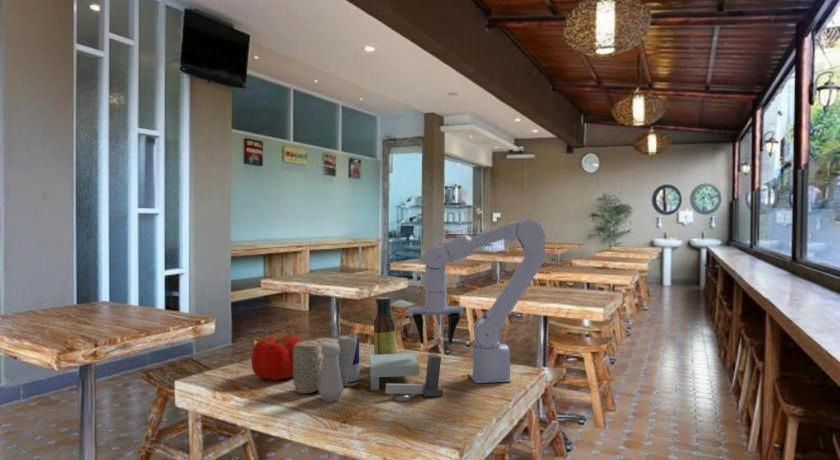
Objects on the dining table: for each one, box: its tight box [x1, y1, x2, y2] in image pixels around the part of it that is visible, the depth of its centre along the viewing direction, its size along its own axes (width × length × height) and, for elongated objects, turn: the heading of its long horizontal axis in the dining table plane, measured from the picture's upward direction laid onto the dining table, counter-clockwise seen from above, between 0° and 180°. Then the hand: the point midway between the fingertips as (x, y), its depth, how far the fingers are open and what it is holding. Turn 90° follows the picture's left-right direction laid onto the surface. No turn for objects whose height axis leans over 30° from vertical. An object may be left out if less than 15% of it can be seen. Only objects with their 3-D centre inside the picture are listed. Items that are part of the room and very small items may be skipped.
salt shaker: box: [317, 342, 344, 403], centre depth 118 cm, size 6×6×13 cm
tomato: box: [251, 334, 302, 381], centre depth 136 cm, size 14×13×10 cm
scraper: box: [384, 354, 444, 397], centre depth 120 cm, size 13×4×9 cm, turn 107°
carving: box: [292, 340, 322, 394], centre depth 124 cm, size 6×8×12 cm
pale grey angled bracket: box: [369, 352, 420, 391], centre depth 131 cm, size 12×12×6 cm
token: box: [392, 393, 413, 403], centre depth 119 cm, size 4×4×1 cm
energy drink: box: [337, 334, 360, 387], centre depth 130 cm, size 5×5×12 cm
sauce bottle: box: [373, 296, 397, 355], centre depth 144 cm, size 7×6×20 cm
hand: (435, 342), depth 135 cm, fingers open, 7 cm apart
